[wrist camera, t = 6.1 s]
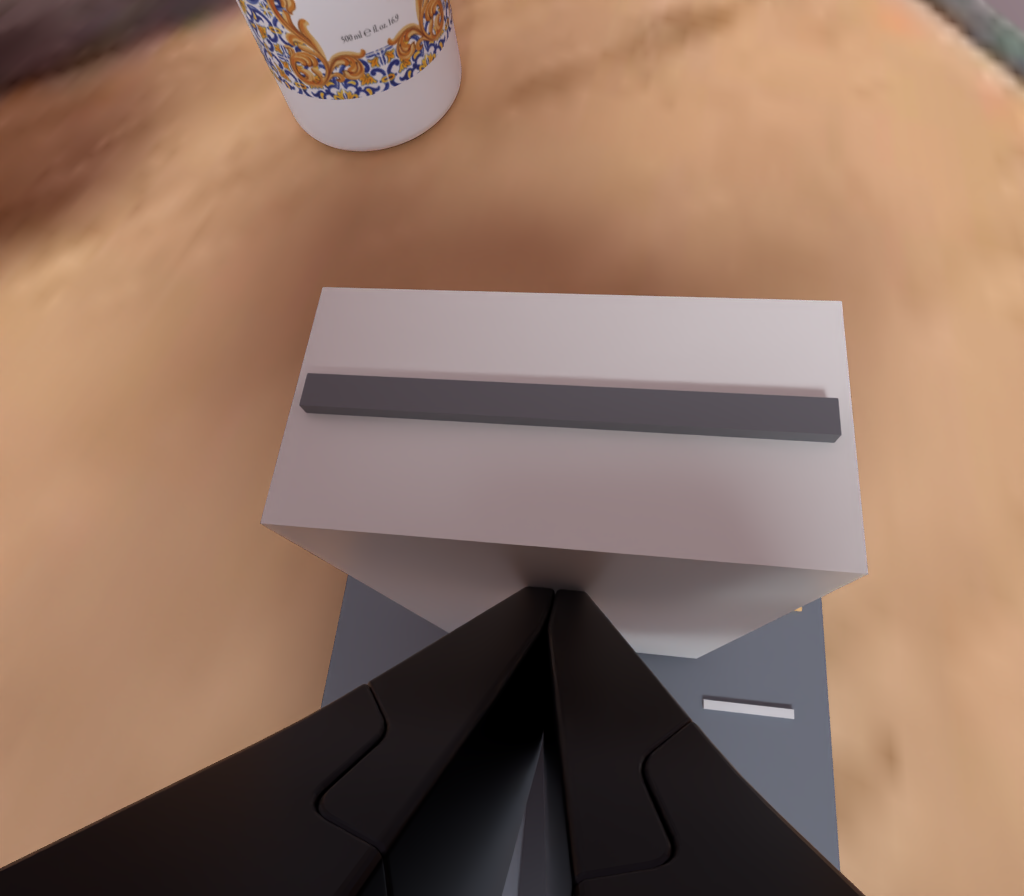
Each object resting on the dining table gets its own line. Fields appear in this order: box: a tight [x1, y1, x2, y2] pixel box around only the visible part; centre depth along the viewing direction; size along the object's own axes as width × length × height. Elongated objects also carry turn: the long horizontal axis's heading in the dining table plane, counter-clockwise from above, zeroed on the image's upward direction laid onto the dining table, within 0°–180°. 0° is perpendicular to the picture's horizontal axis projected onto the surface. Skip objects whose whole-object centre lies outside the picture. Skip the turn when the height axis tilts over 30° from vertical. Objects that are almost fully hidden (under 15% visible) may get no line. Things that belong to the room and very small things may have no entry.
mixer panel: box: [321, 575, 840, 896], centre depth 14 cm, size 24×12×2 cm, turn 174°
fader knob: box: [260, 287, 868, 659], centre depth 11 cm, size 3×6×10 cm, turn 84°
